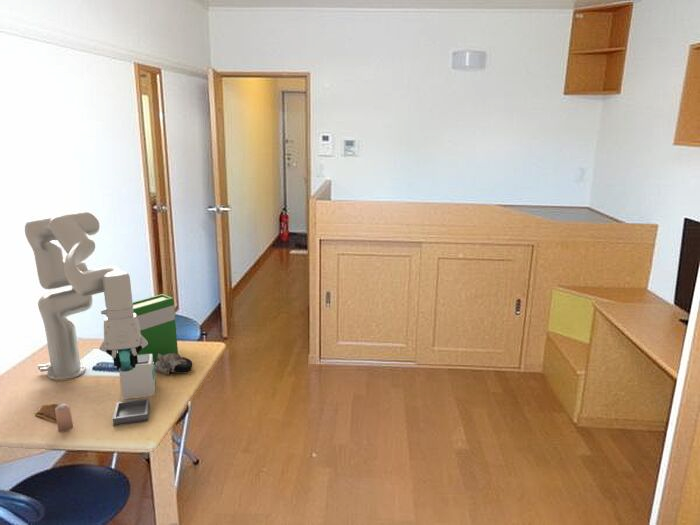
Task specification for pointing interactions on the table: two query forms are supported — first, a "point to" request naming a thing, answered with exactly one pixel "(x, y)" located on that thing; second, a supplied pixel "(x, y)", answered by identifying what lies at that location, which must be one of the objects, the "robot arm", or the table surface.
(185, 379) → the table surface
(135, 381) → the unit
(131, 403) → the tray
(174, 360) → the caster wheel
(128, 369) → the cylinder
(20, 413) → the table surface
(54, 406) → the shard
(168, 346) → the hardback book
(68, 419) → the terracotta cartridge
